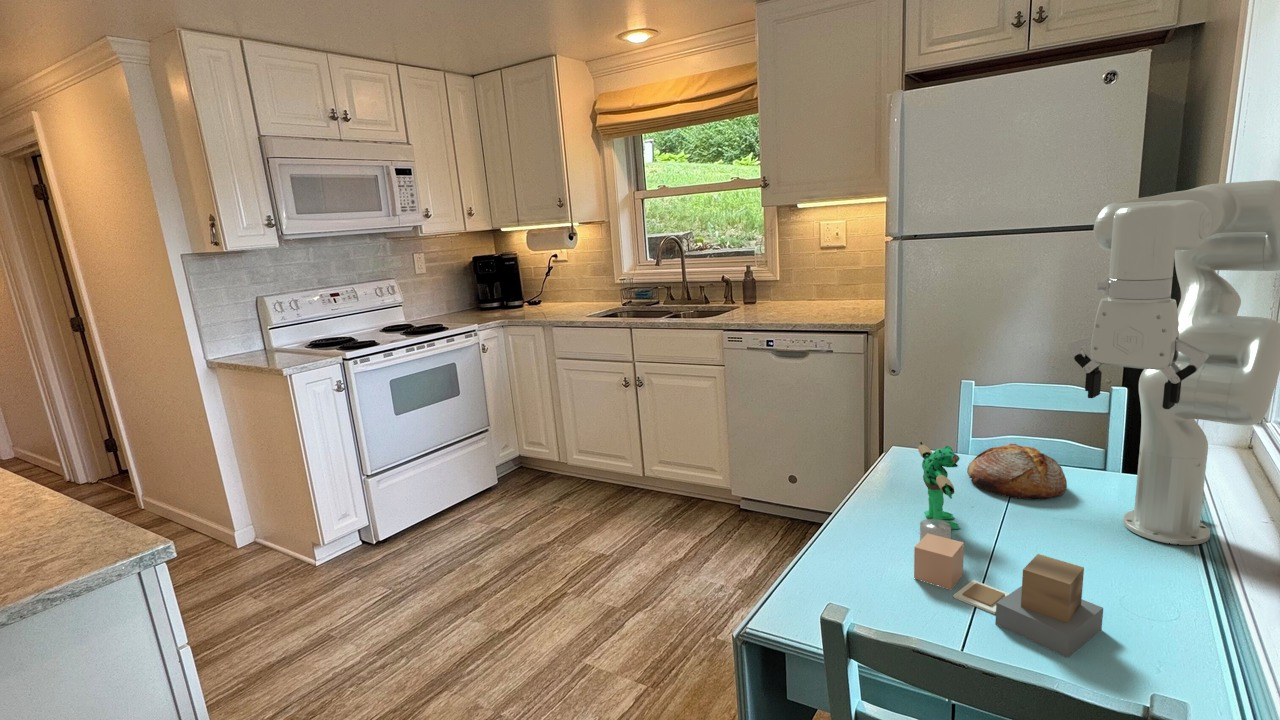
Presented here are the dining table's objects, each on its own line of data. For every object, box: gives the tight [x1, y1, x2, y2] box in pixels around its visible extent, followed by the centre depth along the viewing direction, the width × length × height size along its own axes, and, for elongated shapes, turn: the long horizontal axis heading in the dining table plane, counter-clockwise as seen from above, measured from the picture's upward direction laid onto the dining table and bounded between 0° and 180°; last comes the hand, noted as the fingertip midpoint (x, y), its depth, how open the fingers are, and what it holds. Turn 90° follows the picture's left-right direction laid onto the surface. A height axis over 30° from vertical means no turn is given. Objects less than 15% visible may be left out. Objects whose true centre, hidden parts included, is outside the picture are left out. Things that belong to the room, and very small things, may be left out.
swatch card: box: [952, 579, 1010, 615], centre depth 106 cm, size 6×6×1 cm
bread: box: [966, 443, 1068, 501], centre depth 145 cm, size 16×20×10 cm
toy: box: [917, 441, 961, 530], centre depth 131 cm, size 26×6×15 cm, turn 168°
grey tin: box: [919, 518, 952, 542], centre depth 119 cm, size 5×5×6 cm
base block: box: [995, 585, 1104, 659], centre depth 98 cm, size 10×10×4 cm
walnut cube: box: [1021, 553, 1085, 623], centre depth 97 cm, size 6×6×6 cm
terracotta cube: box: [913, 533, 965, 590], centre depth 113 cm, size 6×6×6 cm
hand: (1129, 401), depth 102 cm, fingers open, 9 cm apart
